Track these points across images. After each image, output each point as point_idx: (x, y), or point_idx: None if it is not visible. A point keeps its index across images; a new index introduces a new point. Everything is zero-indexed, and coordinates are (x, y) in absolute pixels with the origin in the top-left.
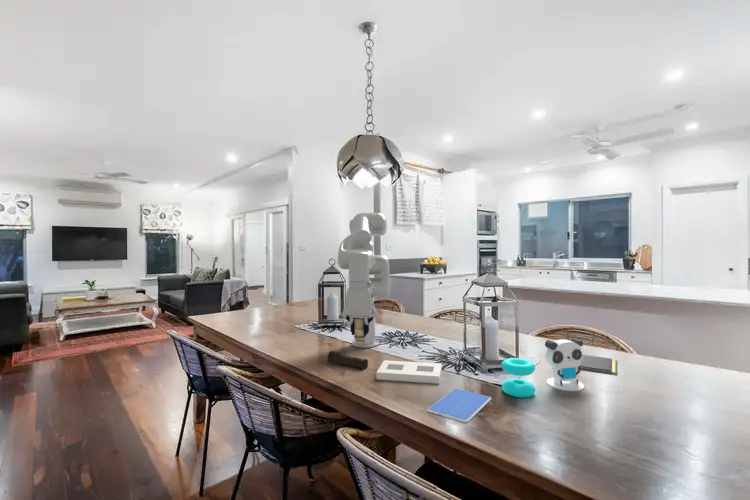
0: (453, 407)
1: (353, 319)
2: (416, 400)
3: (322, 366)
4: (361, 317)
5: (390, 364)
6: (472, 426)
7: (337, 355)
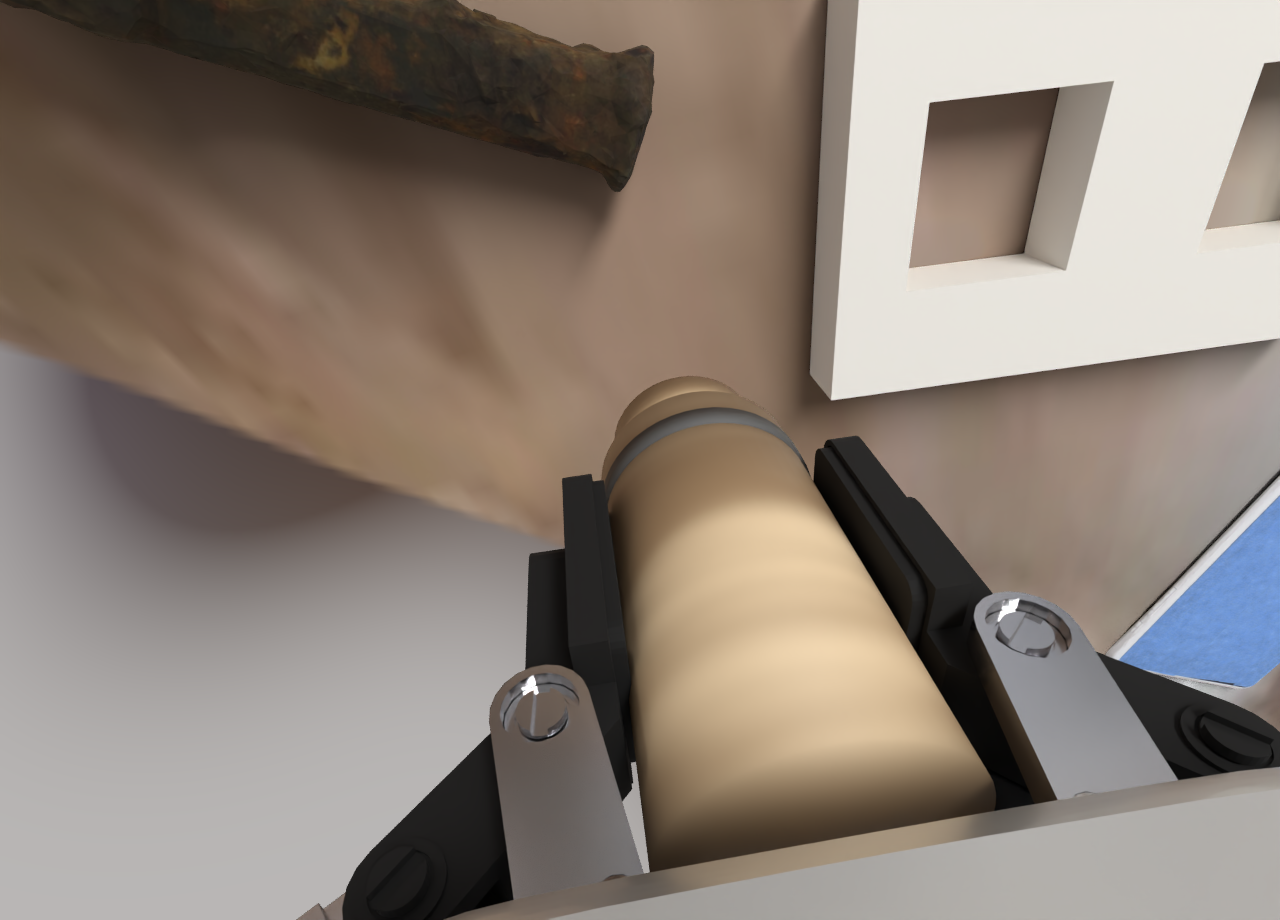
0: (1243, 616)
1: (584, 779)
2: (1075, 583)
3: (102, 191)
4: (867, 773)
5: (949, 98)
6: (1251, 696)
7: (146, 34)
